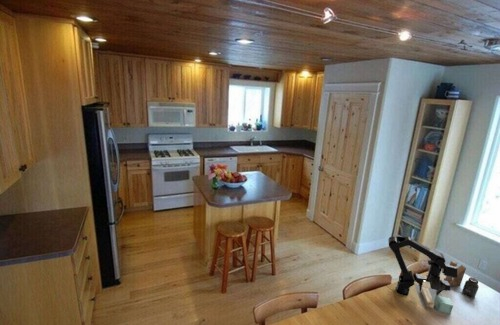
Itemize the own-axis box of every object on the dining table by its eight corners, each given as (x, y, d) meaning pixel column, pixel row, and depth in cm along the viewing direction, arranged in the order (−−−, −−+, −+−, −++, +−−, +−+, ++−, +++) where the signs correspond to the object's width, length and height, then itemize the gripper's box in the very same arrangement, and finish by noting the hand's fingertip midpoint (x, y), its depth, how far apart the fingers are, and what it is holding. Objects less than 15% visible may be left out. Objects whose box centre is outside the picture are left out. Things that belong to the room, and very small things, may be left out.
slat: (426, 306, 161) (427, 301, 160) (420, 291, 174) (421, 286, 173) (433, 308, 160) (434, 303, 159) (426, 292, 173) (427, 288, 172)
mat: (422, 307, 161) (422, 306, 161) (414, 284, 181) (414, 283, 180) (451, 314, 157) (451, 314, 157) (439, 291, 176) (439, 290, 176)
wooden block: (460, 285, 183) (468, 263, 178) (446, 285, 182) (454, 263, 177) (456, 281, 187) (463, 260, 182) (442, 282, 185) (449, 260, 180)
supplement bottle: (463, 296, 173) (469, 281, 170) (460, 289, 179) (465, 274, 176) (476, 300, 170) (482, 284, 167) (472, 292, 177) (477, 277, 173)
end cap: (436, 310, 159) (439, 301, 157) (433, 303, 165) (436, 295, 163) (450, 313, 157) (453, 305, 155) (446, 306, 162) (449, 298, 161)
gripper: (421, 275, 157) (414, 297, 161) (457, 284, 152) (450, 306, 156) (416, 264, 167) (410, 285, 171) (450, 272, 162) (443, 293, 166)
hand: (428, 292), depth 166 cm, fingers open, 9 cm apart
